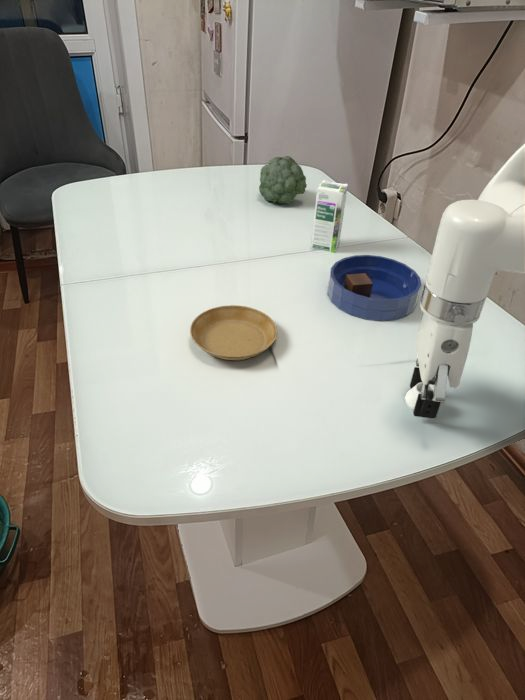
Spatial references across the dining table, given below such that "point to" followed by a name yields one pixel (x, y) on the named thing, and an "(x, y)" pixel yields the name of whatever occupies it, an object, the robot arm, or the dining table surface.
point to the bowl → (375, 288)
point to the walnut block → (359, 284)
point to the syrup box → (328, 216)
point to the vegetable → (281, 180)
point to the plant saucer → (233, 332)
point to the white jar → (415, 394)
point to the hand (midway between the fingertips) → (422, 401)
